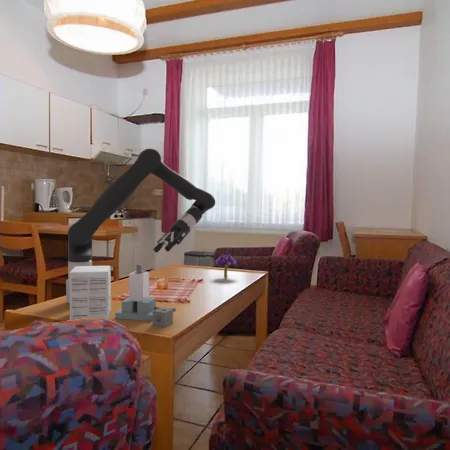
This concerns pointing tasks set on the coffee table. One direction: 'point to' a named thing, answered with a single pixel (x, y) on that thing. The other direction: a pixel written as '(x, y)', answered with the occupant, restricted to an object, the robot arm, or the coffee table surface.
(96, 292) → the supplement box
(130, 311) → the vise
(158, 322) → the dice cube
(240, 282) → the coffee table surface
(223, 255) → the decorative mushroom
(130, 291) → the steel sleeve
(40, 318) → the coffee table surface
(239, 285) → the coffee table surface
